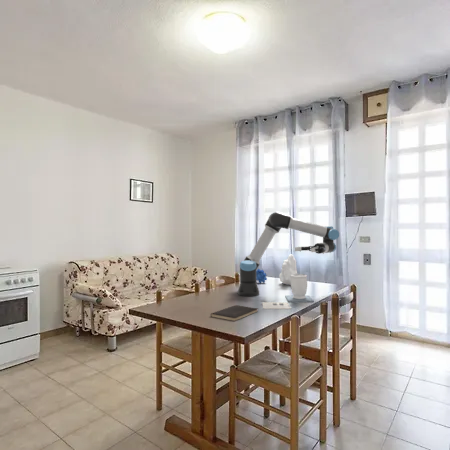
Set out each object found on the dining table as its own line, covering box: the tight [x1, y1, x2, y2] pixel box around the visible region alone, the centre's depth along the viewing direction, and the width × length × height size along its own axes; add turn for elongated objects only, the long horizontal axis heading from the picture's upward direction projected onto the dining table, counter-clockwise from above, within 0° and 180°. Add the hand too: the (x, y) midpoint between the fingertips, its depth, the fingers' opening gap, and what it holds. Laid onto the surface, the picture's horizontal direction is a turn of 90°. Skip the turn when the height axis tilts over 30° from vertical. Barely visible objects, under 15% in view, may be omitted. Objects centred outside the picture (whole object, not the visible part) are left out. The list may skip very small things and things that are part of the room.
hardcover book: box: [210, 304, 259, 321], centre depth 185 cm, size 16×23×2 cm
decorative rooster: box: [278, 253, 298, 286], centre depth 276 cm, size 25×16×25 cm, turn 138°
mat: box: [284, 294, 315, 303], centre depth 219 cm, size 16×16×1 cm
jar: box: [290, 273, 308, 299], centre depth 219 cm, size 11×10×15 cm
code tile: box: [261, 301, 292, 310], centre depth 203 cm, size 16×16×1 cm
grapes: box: [256, 268, 268, 284], centre depth 285 cm, size 12×7×12 cm, turn 66°
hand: (303, 249), depth 228 cm, fingers open, 13 cm apart
